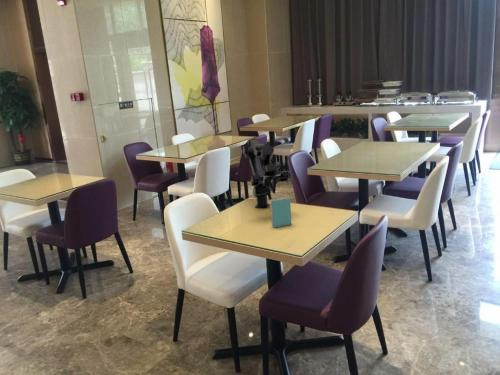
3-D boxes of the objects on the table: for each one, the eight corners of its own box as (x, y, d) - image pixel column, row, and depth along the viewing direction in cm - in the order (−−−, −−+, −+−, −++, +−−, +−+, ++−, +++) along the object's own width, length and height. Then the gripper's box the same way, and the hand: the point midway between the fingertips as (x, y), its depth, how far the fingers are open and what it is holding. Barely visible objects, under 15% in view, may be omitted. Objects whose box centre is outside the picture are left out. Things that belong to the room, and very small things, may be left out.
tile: (271, 226, 201) (270, 199, 198) (290, 223, 203) (288, 196, 200) (273, 227, 199) (271, 201, 195) (291, 224, 201) (290, 198, 197)
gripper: (250, 159, 204) (258, 187, 196) (287, 154, 208) (296, 181, 201) (247, 172, 213) (254, 199, 206) (283, 167, 218) (291, 193, 210)
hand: (274, 193), depth 205 cm, fingers closed
